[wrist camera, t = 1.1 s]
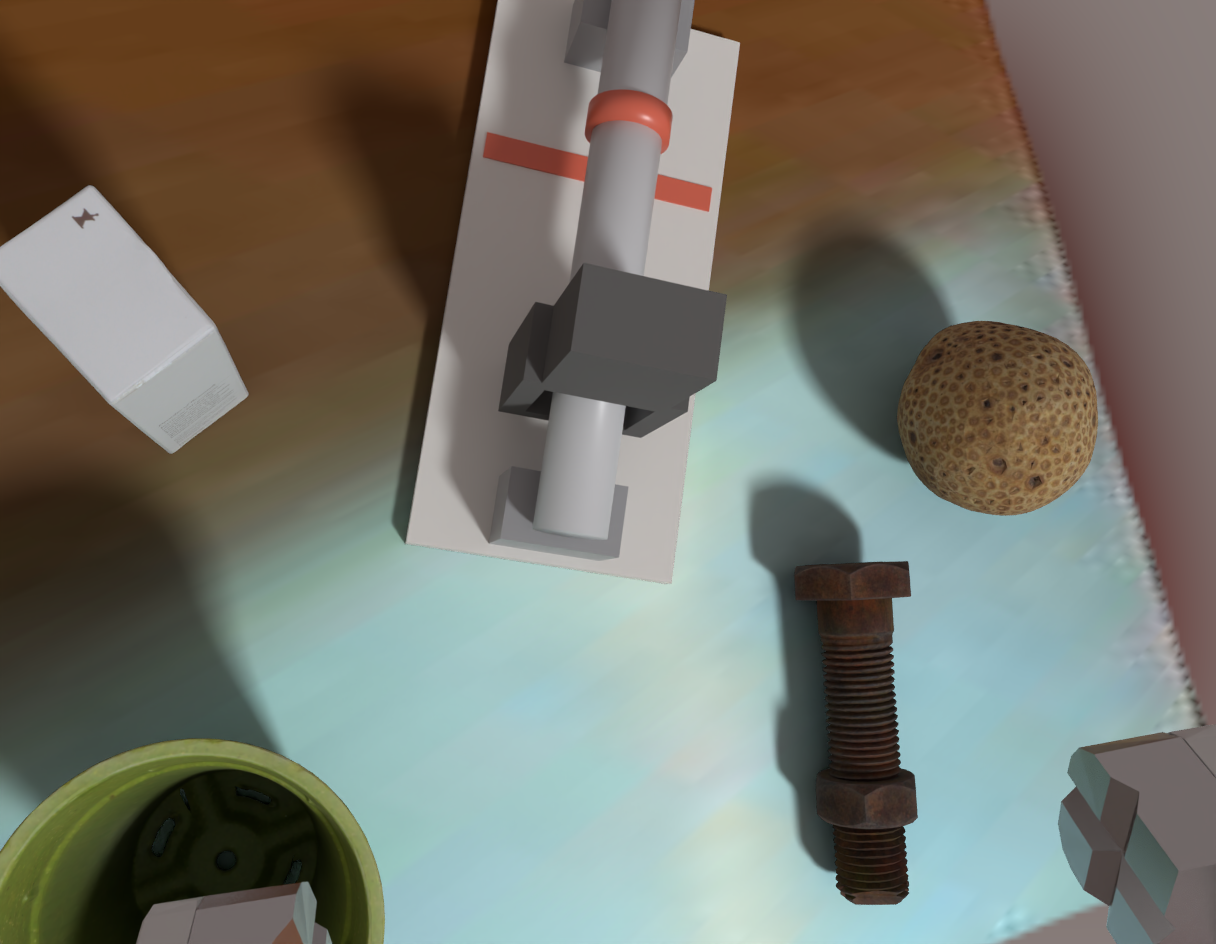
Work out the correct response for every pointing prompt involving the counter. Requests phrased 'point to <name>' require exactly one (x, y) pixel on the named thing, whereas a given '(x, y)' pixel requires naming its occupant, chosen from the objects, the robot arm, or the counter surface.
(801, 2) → the counter surface
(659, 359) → the collar
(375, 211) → the counter surface
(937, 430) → the natural sponge
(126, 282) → the skincare box
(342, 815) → the plant pot
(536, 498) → the pipe stand
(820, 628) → the bolt
